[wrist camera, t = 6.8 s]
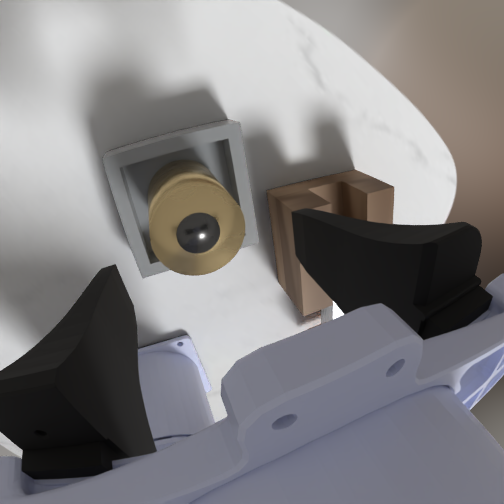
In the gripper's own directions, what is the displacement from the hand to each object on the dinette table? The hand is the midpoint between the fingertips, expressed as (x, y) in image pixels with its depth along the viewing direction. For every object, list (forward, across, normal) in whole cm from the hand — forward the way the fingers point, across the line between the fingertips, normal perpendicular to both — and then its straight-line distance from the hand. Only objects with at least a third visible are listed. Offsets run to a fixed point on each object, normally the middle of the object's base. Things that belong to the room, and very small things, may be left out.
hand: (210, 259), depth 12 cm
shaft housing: (+9, -10, +5) cm, 14 cm away
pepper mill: (+8, 0, 0) cm, 8 cm away
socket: (+9, 0, 0) cm, 9 cm away
